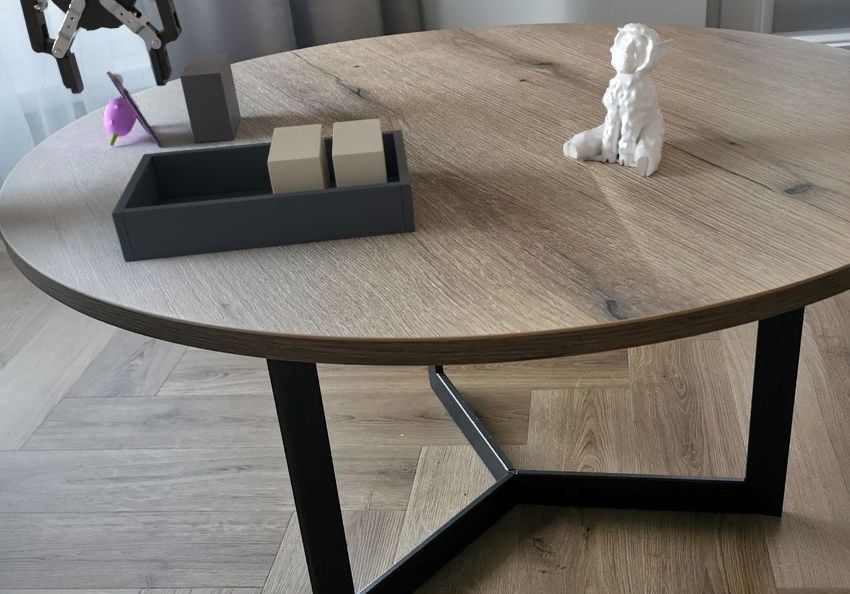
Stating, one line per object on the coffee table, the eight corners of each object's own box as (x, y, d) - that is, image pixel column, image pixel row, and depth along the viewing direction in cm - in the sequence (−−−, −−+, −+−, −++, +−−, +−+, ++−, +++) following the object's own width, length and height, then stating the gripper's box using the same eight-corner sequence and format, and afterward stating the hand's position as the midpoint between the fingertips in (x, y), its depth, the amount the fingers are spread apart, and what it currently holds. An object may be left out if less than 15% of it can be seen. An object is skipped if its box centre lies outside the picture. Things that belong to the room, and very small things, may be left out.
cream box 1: (280, 232, 77) (267, 161, 74) (286, 194, 85) (274, 127, 82) (330, 227, 78) (319, 156, 75) (331, 189, 85) (321, 123, 82)
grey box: (194, 143, 100) (179, 76, 96) (204, 120, 107) (190, 56, 103) (233, 139, 100) (220, 72, 97) (240, 117, 107) (228, 53, 104)
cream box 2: (342, 226, 78) (332, 155, 75) (342, 188, 85) (333, 122, 82) (391, 221, 78) (383, 150, 75) (387, 183, 85) (380, 117, 82)
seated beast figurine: (559, 162, 90) (556, 30, 83) (604, 134, 96) (605, 9, 89) (650, 179, 85) (655, 40, 79) (692, 149, 91) (699, 18, 85)
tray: (126, 268, 74) (111, 213, 72) (156, 203, 86) (143, 153, 84) (416, 238, 76) (410, 183, 74) (407, 178, 88) (401, 129, 86)
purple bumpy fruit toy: (132, 85, 95) (115, 67, 102) (85, 112, 94) (71, 91, 101) (169, 142, 99) (150, 121, 106) (125, 168, 98) (109, 145, 105)
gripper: (-16, -71, 87) (40, 105, 95) (144, -84, 88) (185, 91, 96) (9, -82, 93) (59, 84, 102) (159, -94, 94) (196, 71, 103)
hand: (121, 88), depth 99 cm, fingers open, 8 cm apart
